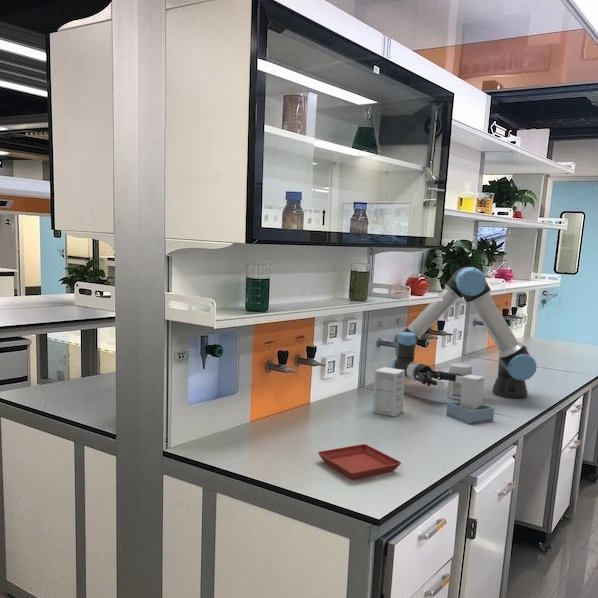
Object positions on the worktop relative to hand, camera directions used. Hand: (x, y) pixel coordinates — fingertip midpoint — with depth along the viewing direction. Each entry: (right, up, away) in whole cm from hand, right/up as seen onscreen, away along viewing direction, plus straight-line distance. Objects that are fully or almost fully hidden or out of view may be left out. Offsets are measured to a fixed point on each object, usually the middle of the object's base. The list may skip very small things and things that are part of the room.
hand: (456, 383), depth 232 cm
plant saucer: (-45, -16, -61) cm, 78 cm away
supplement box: (-28, -11, -3) cm, 30 cm away
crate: (+4, -12, -6) cm, 14 cm away
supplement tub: (+8, -10, +24) cm, 27 cm away
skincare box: (+4, -12, -6) cm, 14 cm away
